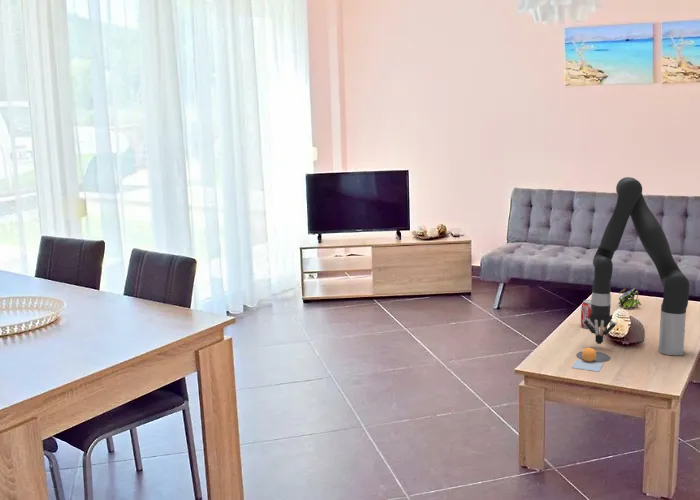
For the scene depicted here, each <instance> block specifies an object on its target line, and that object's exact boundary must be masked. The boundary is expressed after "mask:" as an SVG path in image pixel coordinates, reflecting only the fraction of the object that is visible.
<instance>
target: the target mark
mask: <svg viewBox="0 0 700 500" xmlns="http://www.w3.org/2000/svg"><path fill="white" fill-rule="evenodd" d="M582 352H583V350H582V351H580V352H579V351H578V352H577V353H576V357H577V358H578V360H583V361H585V360H584V359H583V357H582ZM596 354H597V356H596V359H595V360H594V361H592V362H597V363H604V361H605V362H608V361H610V360H611V356H610V355H608V354H607V353H605V352H601V351H596Z"/></svg>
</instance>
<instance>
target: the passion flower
mask: <svg viewBox="0 0 700 500" xmlns="http://www.w3.org/2000/svg"><path fill="white" fill-rule="evenodd" d="M635 289H636V288H635V287H634V288H632V289H629V290H628V291H626V290H627V288H623V289H621V291H619V295H620V294H622V295H620V296H619V297H618V300H619V302H618V305H621V306H622V307H623V309H624V308H625V309H629V308H634V307H635V306H636V307H637V309H638V305H639V306H642V303H641V302H640V299H638V297H639V291H638V290H636V291H635ZM635 296H636V299H635Z"/></svg>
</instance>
